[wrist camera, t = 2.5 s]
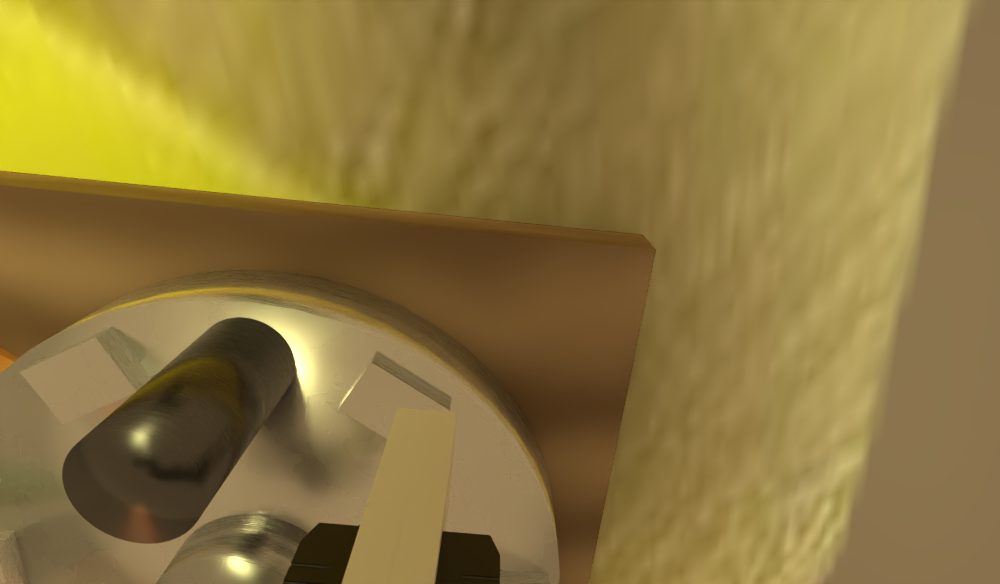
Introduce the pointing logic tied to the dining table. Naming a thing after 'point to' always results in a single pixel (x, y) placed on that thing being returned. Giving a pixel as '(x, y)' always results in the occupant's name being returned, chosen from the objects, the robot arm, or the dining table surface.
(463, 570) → the robot arm
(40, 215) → the base plate
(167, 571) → the crank wheel
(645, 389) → the dining table surface
